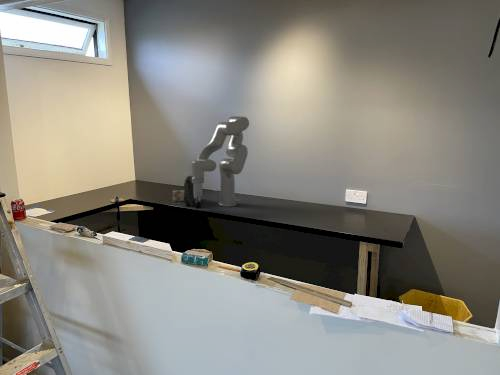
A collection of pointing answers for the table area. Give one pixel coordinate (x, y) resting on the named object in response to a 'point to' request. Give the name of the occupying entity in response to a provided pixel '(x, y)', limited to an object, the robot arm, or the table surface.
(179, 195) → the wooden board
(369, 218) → the table surface
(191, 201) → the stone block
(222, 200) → the robot arm
